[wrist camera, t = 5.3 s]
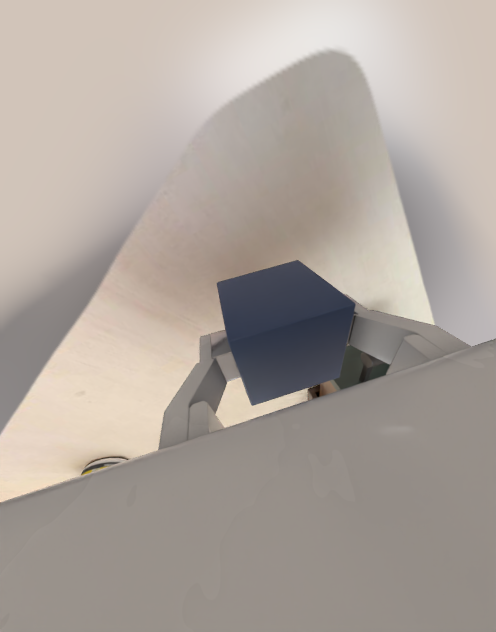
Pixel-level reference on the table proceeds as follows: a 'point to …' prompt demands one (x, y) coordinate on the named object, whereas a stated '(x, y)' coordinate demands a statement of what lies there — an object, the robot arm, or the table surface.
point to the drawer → (355, 371)
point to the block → (285, 329)
